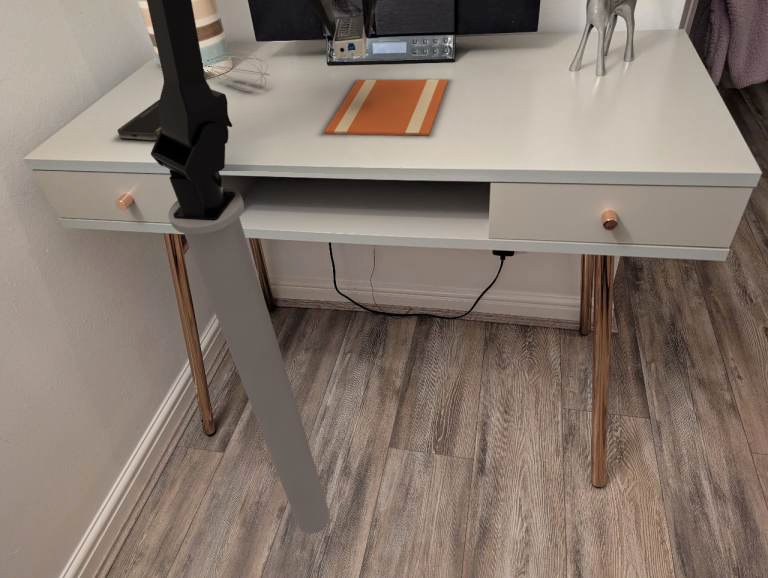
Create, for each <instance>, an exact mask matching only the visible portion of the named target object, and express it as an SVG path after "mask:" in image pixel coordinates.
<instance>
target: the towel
mask: <svg viewBox="0 0 768 578" xmlns="http://www.w3.org/2000/svg"><path fill="white" fill-rule="evenodd" d="M448 82H449V80H448V79H443V78H442V79H439V78H437V79H436V78H435V79H431V78H429V79H428V78H427V79H357V80H356V82H355V84H354V85H353V87H352V88H351V90H350V91H349V92H348V94H347V96H346V97H345V99H344V101H343V102H342V104H341V105H340V107H339V109H337V111H336V113H335V115H334V116H333V118H332V119H331V121H330V123H328V126H327V127H326V129H325V130H324V134H326V135H327V134H329V135H377V136H378V135H379V136H384V135H385V136H386V135H387V136H388V135H389V136H430V133H431V131H432V127H433V124H434V122H435V119H436V116H437V113H438V110H439V108H440V105H441V103H442V99H443V97H444V93H445V91H446V88H447V85H448Z"/></svg>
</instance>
